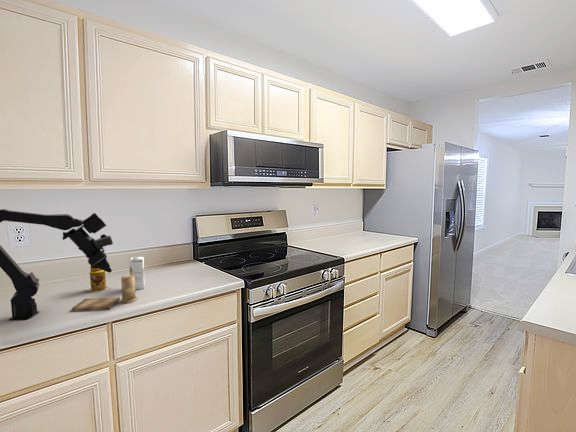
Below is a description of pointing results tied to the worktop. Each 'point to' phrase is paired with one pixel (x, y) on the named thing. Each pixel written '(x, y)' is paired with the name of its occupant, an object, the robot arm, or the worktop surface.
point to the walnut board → (96, 304)
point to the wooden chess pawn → (128, 289)
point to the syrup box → (137, 271)
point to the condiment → (97, 280)
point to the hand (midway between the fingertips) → (110, 269)
